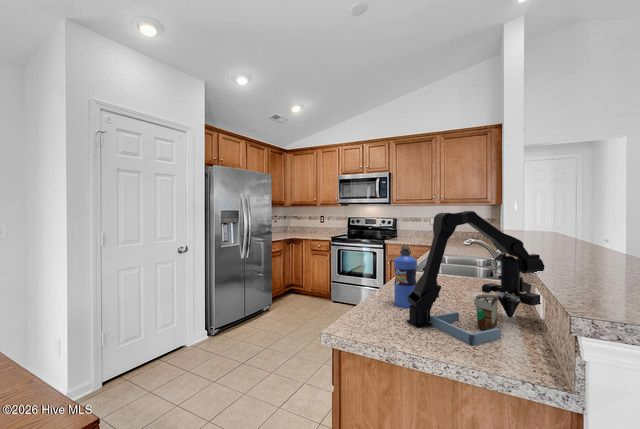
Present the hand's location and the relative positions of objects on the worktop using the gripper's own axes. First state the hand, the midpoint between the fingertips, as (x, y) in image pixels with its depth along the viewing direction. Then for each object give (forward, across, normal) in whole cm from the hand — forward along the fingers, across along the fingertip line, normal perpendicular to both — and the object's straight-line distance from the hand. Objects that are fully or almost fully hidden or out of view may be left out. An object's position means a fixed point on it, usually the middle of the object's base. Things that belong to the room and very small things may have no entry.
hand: (510, 317), depth 106 cm
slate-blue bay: (+2, 0, +22) cm, 22 cm away
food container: (+2, 0, +13) cm, 13 cm away
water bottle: (+2, +30, +22) cm, 37 cm away
